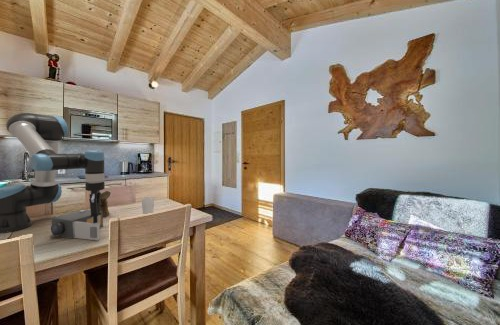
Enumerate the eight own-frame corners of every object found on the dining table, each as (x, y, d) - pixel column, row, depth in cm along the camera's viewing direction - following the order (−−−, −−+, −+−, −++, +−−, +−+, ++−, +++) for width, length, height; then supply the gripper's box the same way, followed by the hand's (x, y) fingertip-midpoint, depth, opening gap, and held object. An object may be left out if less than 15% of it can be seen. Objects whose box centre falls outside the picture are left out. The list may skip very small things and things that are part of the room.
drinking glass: (146, 223, 124) (145, 199, 123) (139, 221, 128) (139, 197, 127) (156, 220, 130) (156, 197, 129) (150, 218, 133) (149, 195, 133)
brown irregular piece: (99, 220, 128) (98, 192, 127) (90, 216, 135) (89, 189, 134) (114, 216, 135) (114, 190, 134) (105, 213, 143) (105, 187, 142)
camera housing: (46, 237, 103) (45, 218, 102) (84, 224, 121) (83, 208, 120) (66, 240, 99) (66, 220, 99) (103, 227, 117) (102, 210, 117)
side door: (75, 236, 103) (74, 221, 102) (99, 239, 100) (99, 223, 100) (71, 238, 101) (70, 222, 101) (96, 241, 98) (95, 224, 98)
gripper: (88, 180, 105) (89, 225, 106) (81, 184, 93) (83, 234, 95) (106, 179, 108) (107, 223, 110) (101, 183, 96) (102, 232, 98)
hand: (96, 228), depth 102 cm, fingers closed
